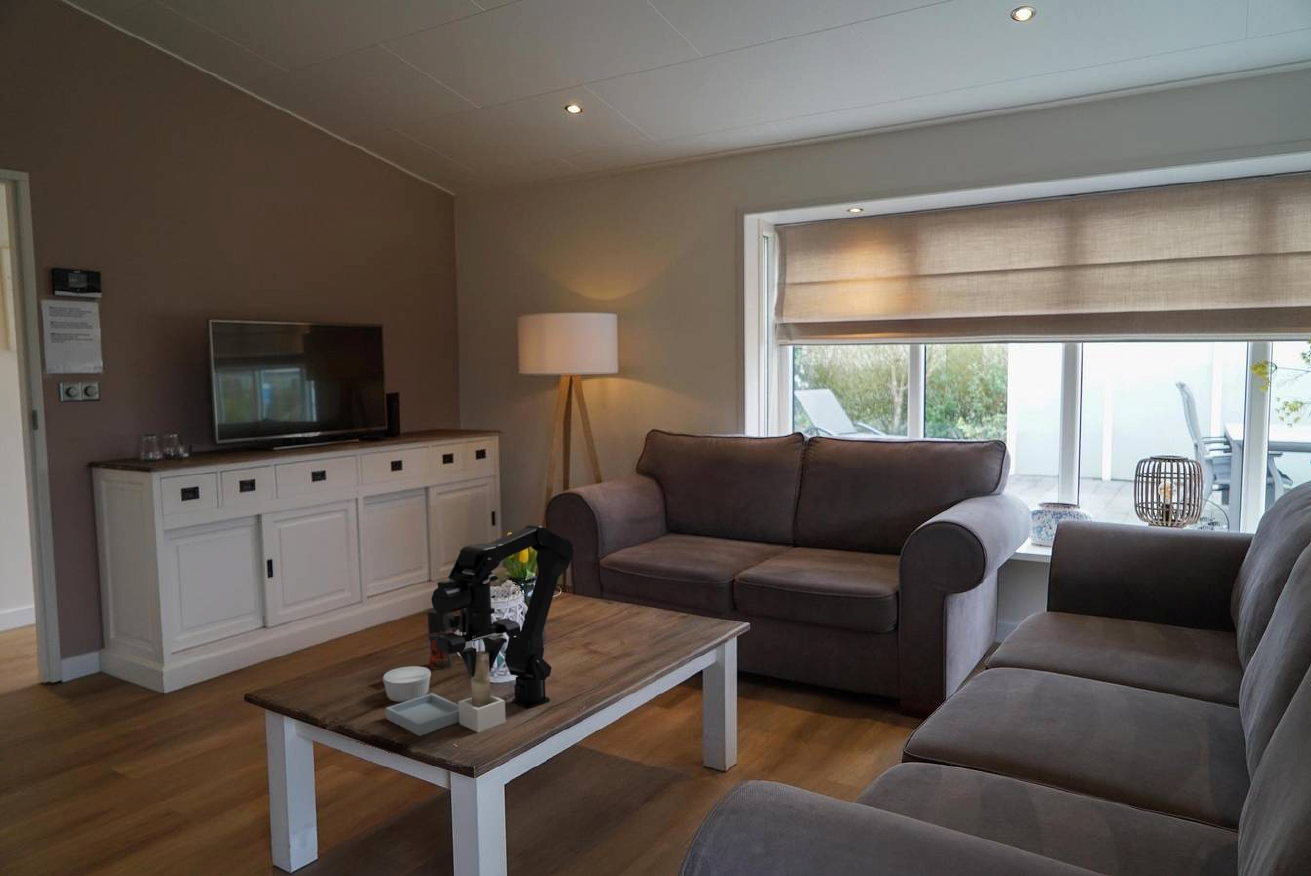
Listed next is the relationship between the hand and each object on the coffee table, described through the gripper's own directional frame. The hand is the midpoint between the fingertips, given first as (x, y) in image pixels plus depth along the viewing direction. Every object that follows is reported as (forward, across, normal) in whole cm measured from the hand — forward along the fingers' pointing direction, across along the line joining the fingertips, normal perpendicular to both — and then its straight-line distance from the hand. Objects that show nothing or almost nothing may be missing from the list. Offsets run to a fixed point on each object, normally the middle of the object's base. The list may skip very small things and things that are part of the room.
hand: (480, 673), depth 196 cm
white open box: (+11, 0, 0) cm, 11 cm away
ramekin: (+12, +2, -28) cm, 30 cm away
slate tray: (+11, +7, -12) cm, 17 cm away
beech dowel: (+6, 0, 0) cm, 6 cm away
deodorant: (+11, -15, -40) cm, 44 cm away
